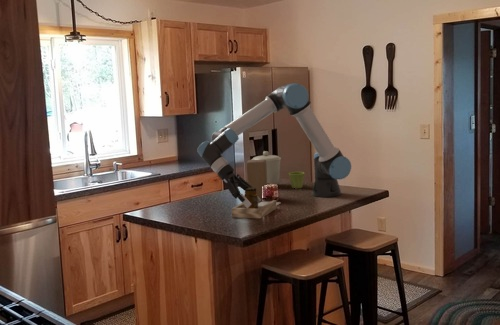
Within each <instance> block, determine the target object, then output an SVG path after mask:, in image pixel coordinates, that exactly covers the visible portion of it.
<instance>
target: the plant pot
mask: <svg viewBox="0 0 500 325" xmlns="http://www.w3.org/2000/svg"><path fill="white" fill-rule="evenodd" d="M288 175H289V178H290V183H291V188H292V189H294V188H295V189H302V188H303V187H304V186H303V184H304V183H303V182H304V177H305V172H304V171H292V172H288Z"/></svg>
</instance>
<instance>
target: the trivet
mask: <svg viewBox="0 0 500 325" xmlns="http://www.w3.org/2000/svg"><path fill="white" fill-rule="evenodd" d="M269 202H270V201H260V202H259V203H258V208H261V207H262V206H264V205H266V204H267V203H269ZM281 203H282V202H280V201H276V207H277V206H278V205H280V204H281Z"/></svg>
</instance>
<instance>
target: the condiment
mask: <svg viewBox="0 0 500 325" xmlns="http://www.w3.org/2000/svg"><path fill="white" fill-rule="evenodd" d="M243 195H244V196H245V197H246V198H247V200H248V201H249V202H250V203H251V205H250V206H249V208H252V209H259V207H258V204H259V203H258V197H257V192H256V188H246V189H245V190H244V194H243ZM245 208H246V207H245Z"/></svg>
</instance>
